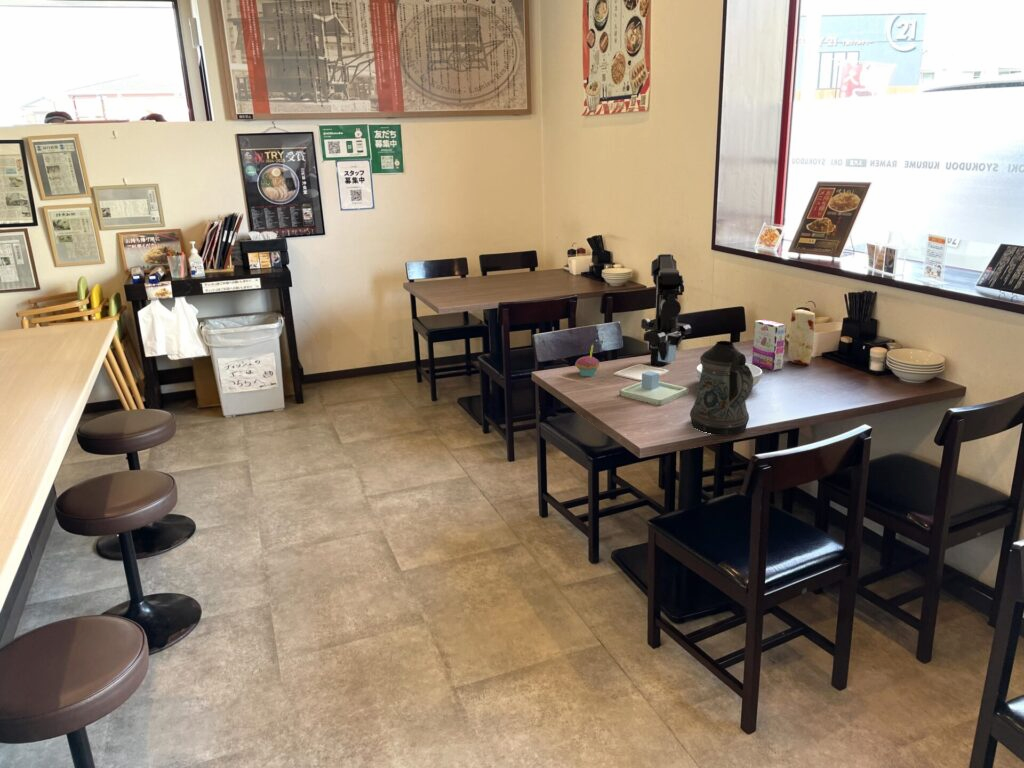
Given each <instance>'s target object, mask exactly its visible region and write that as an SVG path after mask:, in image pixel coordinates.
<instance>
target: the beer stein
mask: <svg viewBox="0 0 1024 768" xmlns="http://www.w3.org/2000/svg"><path fill="white" fill-rule="evenodd" d="M734 345H735V344H734V343H733V341H729V340H719V341H716V342H715V344H714V345H713V346H712V347H710V348H708V350H706V351H705V352H703V353H702V354H701V356H700V359H699V361H700V364H702V372H701V377H700V380H699V383H698V388H697V393H696V397H695V399H694V400H695V401H694V403H693V406H692V408H691V409H690V412H689V418H690V424H692V425H691V426H692V427H693V429H694V428H696V429H698V430H697V431H699V430H700V431H699V432H701V431H703V432H707V433H706V434H708V433H711V434H710V435H715V436H716V435H717V436H731V435H737V434H741V433H742V432H744V431H746V429H747V426H748V423H749V420H750V415H749V412H748V409H747V403H746V402H747V401H746V400H747V399H748V398H749V397H750V395H751V393H752V390H753V388H754V387H753V376H752V373H751V371H750V369H749V367H748V366H747V365H745V363H747V358H746V356H745V354H743V353H742V352H741V351H739V349H737V348H736V346H734ZM696 429H695V430H696ZM703 432H702V433H703Z"/></svg>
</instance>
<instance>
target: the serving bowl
mask: <svg viewBox="0 0 1024 768" xmlns="http://www.w3.org/2000/svg"><path fill="white" fill-rule="evenodd" d="M745 365H747V366H748V367H749V369H750V371H751V373H752V376H753V387H752V388H754V387H756V386H757V385H758V384H759V382H760V381H761V378H762V374H763V370H762V369H761V368H760V366H757V365H754V364H752V363H747V362H746V363H745ZM701 372H702V364H701V363H700V364H698V365H697V366H696V374H697V377H698V381H700V377H701Z"/></svg>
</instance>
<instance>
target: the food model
mask: <svg viewBox="0 0 1024 768" xmlns="http://www.w3.org/2000/svg"><path fill="white" fill-rule="evenodd" d="M790 319H791V320H790V326H789V336H788V347H787V348H788V351H787V352H788V353H787V354H788V355H787V357H788V360H789V361H790V362H791V363H793V364H794V363H795V364H797V365H802V366H805V365H809V364H810V362H811V359H812V355H813V349H814V344H815V331H816V329H815V328H816V314H815V312H812V311H809V310H805V309H802V308H801V309H799V308H798V309H794V310H792V312H791V318H790Z"/></svg>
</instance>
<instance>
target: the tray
mask: <svg viewBox="0 0 1024 768" xmlns="http://www.w3.org/2000/svg"><path fill="white" fill-rule="evenodd" d="M618 391H619V393H618V394H619V395H618V396H620V395H621V396H620V397H624V396H625V398H628V397H629V399H632V400H635V399H636V400H637V401H639V400H640V402H643V403H644V402H645V403H647V402H648V403H647V404H652V405H655V406H659V407H660V406H663V405H666V404H667V403H670V402H671V401H674V400H676V399H678V398H681V397H683V396H686V395H687V394H689V387H684V386H681V385H678V384H677V385H676V384H672V383H668V382H667V383H666V382H662V381H660V380H659V387H658V388H656V389H654V390H648V389H644V388H642V381H638V382H637V383H634V384H631V385H629V386H626V387H624V388H622V389H619V390H618ZM636 400H635V401H636Z"/></svg>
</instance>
